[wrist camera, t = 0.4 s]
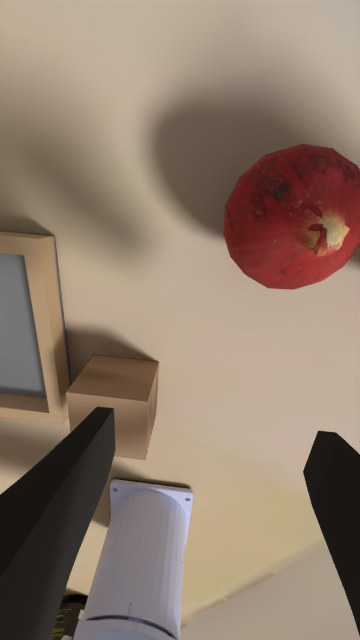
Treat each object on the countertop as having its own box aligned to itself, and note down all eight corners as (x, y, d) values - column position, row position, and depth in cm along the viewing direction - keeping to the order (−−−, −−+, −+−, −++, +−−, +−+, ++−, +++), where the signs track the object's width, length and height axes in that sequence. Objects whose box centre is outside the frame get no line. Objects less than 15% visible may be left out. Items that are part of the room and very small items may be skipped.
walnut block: (156, 412, 22) (145, 460, 17) (97, 405, 22) (73, 451, 18) (159, 361, 20) (147, 401, 15) (94, 354, 20) (66, 392, 16)
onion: (199, 213, 15) (196, 218, 8) (285, 134, 13) (387, 45, 6) (256, 287, 17) (298, 350, 9) (341, 226, 15) (477, 243, 8)
